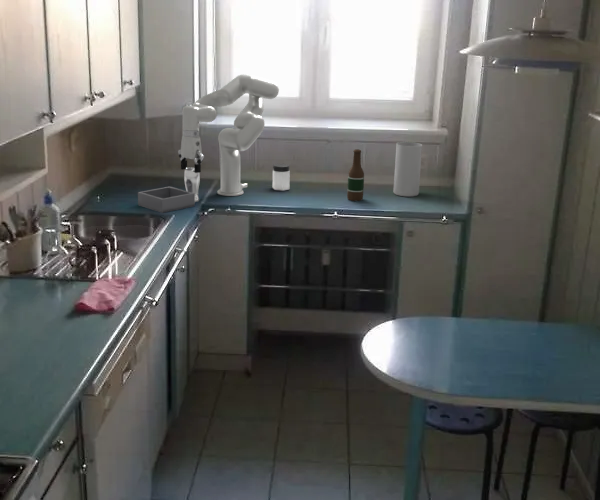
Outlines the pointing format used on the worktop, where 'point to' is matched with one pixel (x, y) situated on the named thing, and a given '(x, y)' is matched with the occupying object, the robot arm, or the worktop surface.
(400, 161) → the cylinder vase
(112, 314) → the worktop surface
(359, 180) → the beer bottle
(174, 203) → the bin
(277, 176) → the jar
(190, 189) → the beer glass
